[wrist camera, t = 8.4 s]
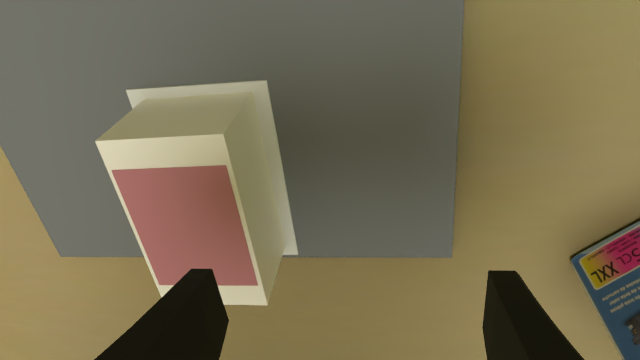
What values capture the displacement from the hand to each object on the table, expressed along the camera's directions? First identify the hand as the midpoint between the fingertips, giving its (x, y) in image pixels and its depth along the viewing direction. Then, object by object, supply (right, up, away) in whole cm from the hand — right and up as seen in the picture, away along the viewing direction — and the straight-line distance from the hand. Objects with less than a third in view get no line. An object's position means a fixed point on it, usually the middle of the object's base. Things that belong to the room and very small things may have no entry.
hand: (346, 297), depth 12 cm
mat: (-6, +7, +8) cm, 12 cm away
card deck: (-6, +3, +10) cm, 12 cm away
